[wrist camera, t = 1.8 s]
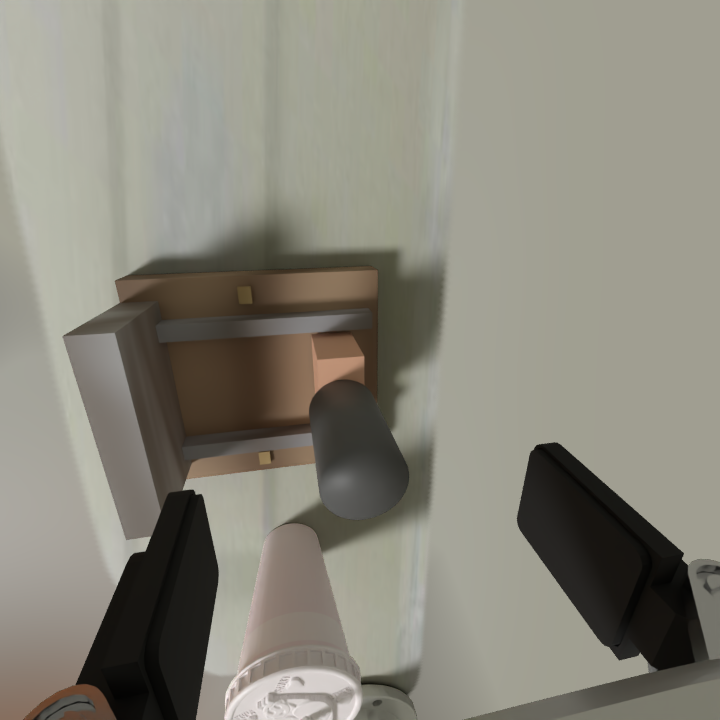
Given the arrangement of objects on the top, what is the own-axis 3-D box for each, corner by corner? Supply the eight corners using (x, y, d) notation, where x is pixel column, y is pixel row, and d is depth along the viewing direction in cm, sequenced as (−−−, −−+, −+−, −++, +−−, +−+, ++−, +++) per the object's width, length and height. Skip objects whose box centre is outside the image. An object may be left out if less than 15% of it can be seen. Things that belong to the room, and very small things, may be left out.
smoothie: (292, 591, 28) (302, 915, 15) (221, 552, 25) (161, 900, 13) (355, 536, 27) (422, 828, 14) (288, 490, 25) (297, 795, 12)
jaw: (360, 331, 20) (412, 411, 12) (361, 416, 22) (406, 534, 14) (301, 334, 19) (314, 422, 11) (307, 421, 21) (322, 548, 13)
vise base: (371, 266, 20) (408, 289, 14) (371, 441, 24) (400, 516, 18) (127, 275, 18) (53, 307, 12) (171, 465, 22) (131, 557, 16)
